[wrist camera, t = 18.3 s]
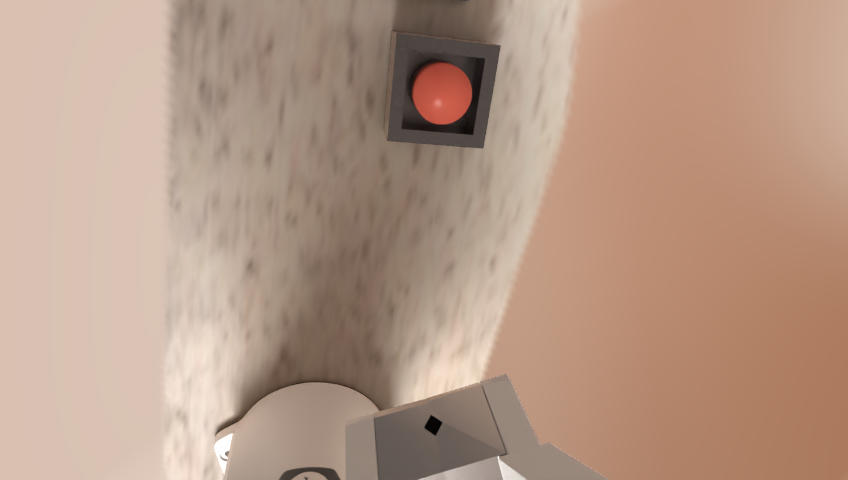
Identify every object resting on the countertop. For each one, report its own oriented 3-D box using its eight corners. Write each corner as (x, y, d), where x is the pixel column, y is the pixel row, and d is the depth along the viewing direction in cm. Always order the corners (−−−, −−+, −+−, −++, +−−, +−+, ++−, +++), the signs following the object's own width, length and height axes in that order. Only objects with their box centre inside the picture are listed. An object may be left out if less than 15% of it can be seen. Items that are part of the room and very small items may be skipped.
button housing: (471, 136, 39) (483, 148, 36) (383, 129, 37) (387, 140, 34) (486, 42, 36) (500, 45, 33) (391, 30, 35) (396, 33, 31)
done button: (459, 119, 37) (467, 126, 34) (406, 114, 36) (411, 121, 34) (467, 63, 35) (476, 67, 33) (412, 57, 34) (417, 60, 32)
